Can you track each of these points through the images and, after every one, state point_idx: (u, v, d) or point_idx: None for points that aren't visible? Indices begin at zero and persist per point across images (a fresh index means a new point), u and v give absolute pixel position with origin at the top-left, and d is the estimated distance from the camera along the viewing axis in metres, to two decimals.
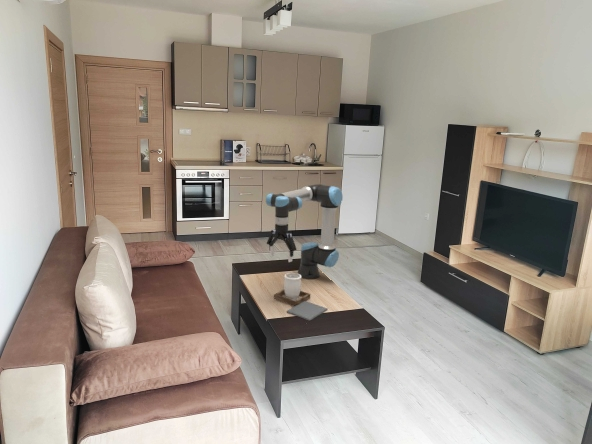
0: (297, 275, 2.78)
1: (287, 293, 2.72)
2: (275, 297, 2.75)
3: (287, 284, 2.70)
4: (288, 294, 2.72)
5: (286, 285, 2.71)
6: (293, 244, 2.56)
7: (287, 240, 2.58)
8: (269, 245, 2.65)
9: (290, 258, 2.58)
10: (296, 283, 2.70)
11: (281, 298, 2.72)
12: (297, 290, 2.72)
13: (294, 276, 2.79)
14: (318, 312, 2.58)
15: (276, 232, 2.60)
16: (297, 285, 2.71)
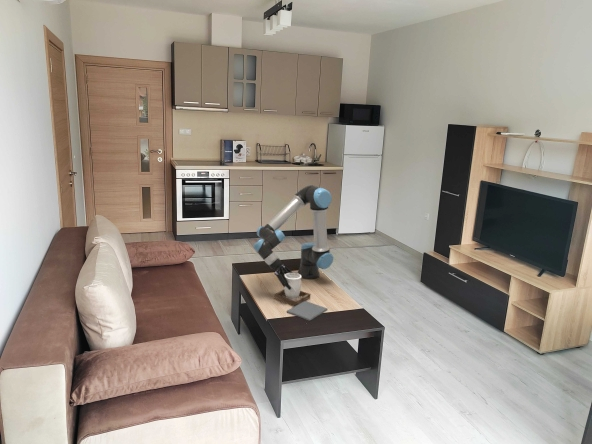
0: (297, 275, 2.78)
1: (287, 293, 2.72)
2: (275, 297, 2.75)
3: None
4: (288, 294, 2.72)
5: None
6: (281, 280, 2.68)
7: None
8: None
9: (291, 290, 2.70)
10: (296, 283, 2.70)
11: (281, 298, 2.72)
12: (297, 290, 2.72)
13: (294, 276, 2.79)
14: (318, 312, 2.58)
15: None
16: (297, 285, 2.71)
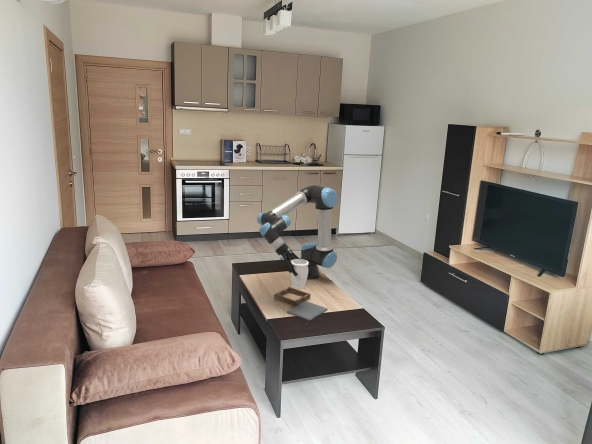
0: (304, 262, 2.64)
1: (293, 280, 2.59)
2: (275, 297, 2.75)
3: None
4: (294, 281, 2.59)
5: None
6: (287, 266, 2.54)
7: (288, 261, 2.58)
8: None
9: (297, 277, 2.56)
10: (303, 269, 2.56)
11: (281, 298, 2.72)
12: (304, 277, 2.58)
13: (301, 263, 2.65)
14: (318, 312, 2.58)
15: None
16: (304, 272, 2.57)
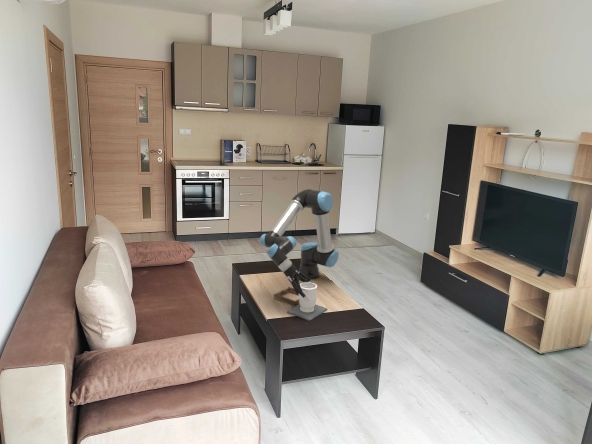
0: (312, 285, 2.61)
1: (302, 304, 2.56)
2: (275, 297, 2.75)
3: None
4: (303, 305, 2.56)
5: None
6: (295, 287, 2.50)
7: (296, 282, 2.54)
8: None
9: (305, 298, 2.52)
10: (312, 293, 2.54)
11: (281, 298, 2.72)
12: (313, 301, 2.55)
13: (309, 286, 2.62)
14: (318, 312, 2.58)
15: None
16: (313, 295, 2.54)
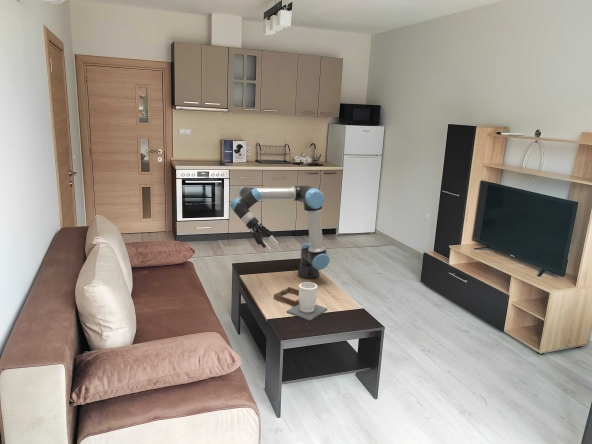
0: (312, 285, 2.61)
1: (302, 304, 2.56)
2: (275, 297, 2.75)
3: (303, 294, 2.54)
4: (303, 305, 2.56)
5: (301, 295, 2.55)
6: (256, 238, 2.62)
7: (257, 234, 2.67)
8: (268, 236, 2.78)
9: (266, 248, 2.64)
10: (312, 293, 2.54)
11: (281, 298, 2.72)
12: (313, 301, 2.55)
13: (309, 286, 2.62)
14: (318, 312, 2.58)
15: None
16: (313, 295, 2.54)
